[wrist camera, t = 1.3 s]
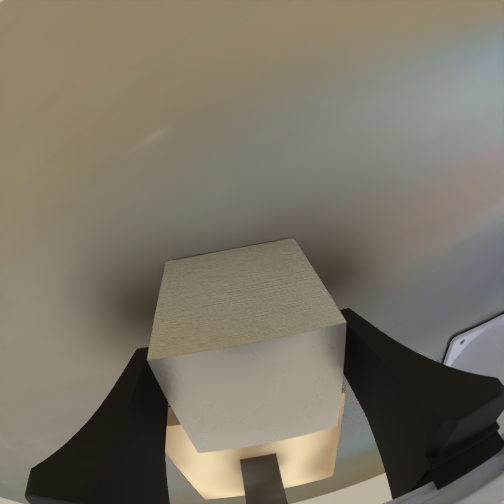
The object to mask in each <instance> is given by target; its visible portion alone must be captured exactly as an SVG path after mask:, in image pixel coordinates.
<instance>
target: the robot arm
mask: <svg viewBox="0 0 504 504" xmlns="http://www.w3.org/2000/svg"><path fill="white" fill-rule="evenodd" d="M339 311H340V312H341V314H342V315H343V317H344V319H345V320H346V322H347V323H346V341H345V356H344V369H343V373H344V375H345V377H346V379H347V381H348V383H349V385H350V387H351V388H352V390H353V392H354V394H355V396H356V398H357V400H358V401H359V403H360V405H361V407H362V409H363V411H364V413H365V415H366V417H367V419H368V422H369V425H370V427H371V430H372V432H373V435H374V438H375V441H376V444H377V446H378V449H379V452H380V455H381V458H382V462H383V465H384V468H385V472H386V475H387V479H388V482H389V487H390V490H391V495H392V499H393V500H391V501H389V502H386V503H384V504H504V314H502V315H500V316H498V317H497V318H495V319H493V320H490V321H488V322H486V323H484V324H482V325H480V326H478V327H476V328H474V329H472V330H469V331H467V332H465V333H463V334H460V335H458V336H456V337H454V338H453V339H452V341H451V343H450V346H449V349H448V352H447V355H446V357H445V360H444V363H443V364H441V363H439V362H436V361H434V360H431V359H429V358H427V357H425V356H423V355H421V354H419V353H416V352H414V351H413V350H411V349H409V348H407V347H405V346H404V345H402V344H400V343H399V342H397V341H395V340H394V339H392V338H390V337H389V336H387V335H386V334H384V333H383V332H381V331H380V330H379V329H377V328H376V327H374V326H373V325H372V324H370V323H369V322H367V321H366V320H365V319H363V318H362V317H361V316H359V315H358V314H357V313H355V312H354V311H352V310H351V309H350V308H347V309H343V310H339ZM148 350H149V347H146V348H139V349H137V350H136V352H135V353H134V355H133V356H132V358H131V359H130V361H129V363H128V364H127V366H126V368H125V369H124V371H123V373H122V374H121V376H120V377H119V379H118V381H117V382H116V384H115V385H114V387H113V388H112V390H111V391H110V393H109V394H108V396H107V397H106V399H105V400H104V401H103V403H102V404H101V406H100V407H99V408H98V410H97V411H96V412H95V413H94V415H93V416H92V417H91V418H90V419H89V421H88V422H87V423H86V424H85V425H84V426H83V427H82V428H81V429H80V430H79V431H78V432H77V433H76V434H75V435H74V436H73V437H72V438H71V439H70V440H69V441H68V442H67V443H66V444H65V445H63V446H62V447H61V448H60V449H59V450H57V451H56V452H55V453H54V454H52V455H51V456H50V457H48V458H47V459H45V460H44V461H42V462H41V463H40V464H38V465H37V466H35V467H33V468H32V469H31V471H30V475H29V479H28V483H27V488H26V492H25V498H26V499H27V501H28V502H29V503H30V504H170V502H169V495H168V486H167V477H166V463H165V446H166V431H167V418H168V404H169V403H168V400H167V398H166V397H165V395H164V393H163V391H162V389H161V387H160V385H159V383H158V381H157V379H156V377H155V375H154V373H153V371H152V369H151V367H150V365H149V363H148V361H147V357H148Z"/></svg>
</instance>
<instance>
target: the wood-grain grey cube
mask: <svg viewBox="0 0 504 504" xmlns="http://www.w3.org/2000/svg"><path fill="white" fill-rule="evenodd" d="M346 323H347V322H346V320H345V319H344V317H343V315H342V314H341V312H340V311H339V309H338V307H337V306H336V304H335V302H334V301H333V299H332V298H331V296H330V294H329V293H328V291H327V290H326V288H325V286H324V285H323V283H322V282H321V280H320V278H319V277H318V275H317V274H316V272H315V270H314V269H313V267H312V266H311V264H310V263H309V261H308V260H307V258H306V256H305V255H304V253H303V252H302V250H301V249H300V247H299V246H298V244H297V242H296V241H295V239H294V238H289V239H284V240H278V241H273V242H267V243H262V244H257V245H251V246H246V247H241V248H235V249H230V250H225V251H219V252H214V253H209V254H203V255H198V256H193V257H187V258H182V259H177V260H172V261H166V264H165V268H164V273H163V277H162V282H161V287H160V292H159V297H158V302H157V307H156V312H155V317H154V322H153V328H152V333H151V339H150V345H149V350H148V357H147V361H148V363H149V365H150V367H151V369H152V371H153V373H154V375H155V377H156V379H157V381H158V383H159V385H160V387H161V389H162V391H163V393H164V395H165V397H166V398H167V400H168V402H169V404H170V406H171V408H172V409H173V411H174V413H175V415H176V417H177V418H178V420H179V422H180V424H181V425H182V427H183V429H184V430H185V432H186V434H187V436H188V437H189V439H190V440H191V442H192V444H193V445H194V447H195V449H196V450H197V452H198V453H206V452H215V451H223V450H230V449H237V448H243V447H249V446H255V445H261V444H266V443H271V442H276V441H281V440H285V439H290V438H294V437H299V436H303V435H307V434H311V433H315V432H318V431H322V430H326V429H329V428H333V427H336V426H338V418H339V409H340V400H341V391H342V380H343V369H344V356H345V341H346Z"/></svg>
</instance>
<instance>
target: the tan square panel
mask: <svg viewBox="0 0 504 504" xmlns="http://www.w3.org/2000/svg"><path fill="white" fill-rule="evenodd" d="M344 400H345V391H344V389H343V387H342V391H341V400H340V409H339V418H338V426H336V427H333V428H329V429H326V430H322V431H318V432H315V433H311V434H307V435H303V436H299V437H294V438H290V439H285V440H281V441H276V442H271V443H266V444H261V445H255V446H249V447H243V448H237V449H230V450H223V451H215V452H206V453H198V452H197V450H196V449H195V447H194V445H193V444H192V442H191V440H190V439H189V437H188V436H187V434H186V432H185V430H184V429H183V427H182V425H181V424H180V422H179V420H178V418H177V417H176V415H175V413H174V411H173V409H172V408H171V407H168V418H167V431H166V446H165V452H166V453H167V455H168V456H169V457H170V458H171V460H172V461H173V462H174V463H175V465H176V466H177V467H178V468H179V470H180V471H181V472H182V473H183V474H184V476H185V477H186V478H187V479H188V480H189V482H190V483H191V484H192V485H193V486H194V487H195V488H196V490H197V491H198V492H199V493H200V494H201V495H202V496H203V497H204V498H205V499H215V498H225V497H234V496H241V495H245V497H246V504H288V503H287V499H286V495H285V490H284V488H287V487H292V486H297V485H301V484H305V483H309V482H313V481H317V480H321V479H324V478H328V477H331V476H333V471H334V466H335V460H336V454H337V448H338V442H339V436H340V429H341V422H342V415H343V408H344Z"/></svg>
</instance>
